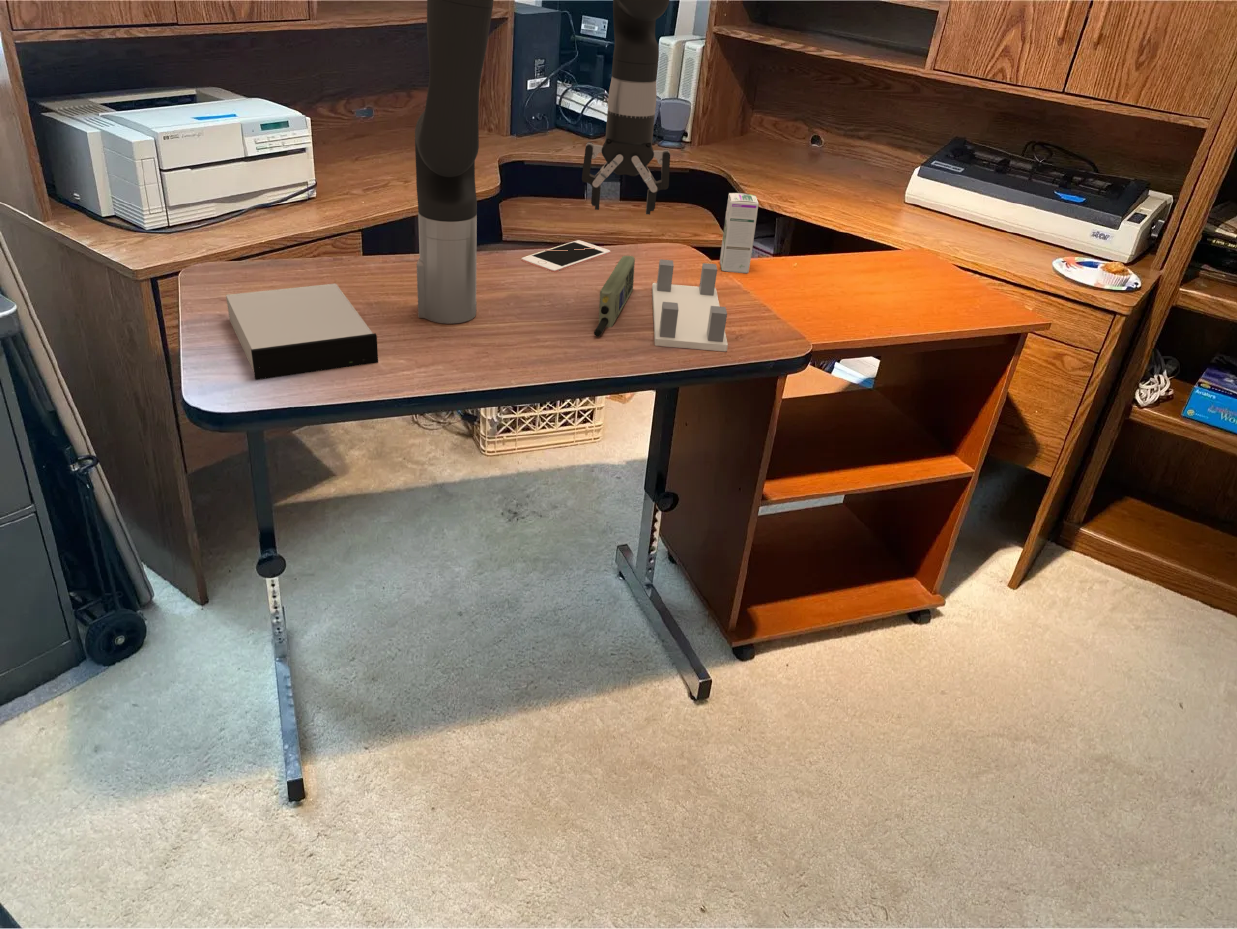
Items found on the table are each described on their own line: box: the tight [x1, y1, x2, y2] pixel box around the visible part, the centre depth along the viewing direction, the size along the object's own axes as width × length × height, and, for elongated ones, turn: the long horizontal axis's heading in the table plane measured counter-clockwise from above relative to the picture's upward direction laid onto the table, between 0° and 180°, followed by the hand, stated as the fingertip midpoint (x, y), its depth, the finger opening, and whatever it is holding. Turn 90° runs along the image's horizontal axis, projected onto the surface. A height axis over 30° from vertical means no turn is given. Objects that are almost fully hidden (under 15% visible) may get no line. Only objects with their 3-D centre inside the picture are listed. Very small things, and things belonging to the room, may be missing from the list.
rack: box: [651, 258, 729, 352], centre depth 162 cm, size 12×26×6 cm, turn 179°
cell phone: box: [521, 239, 611, 273], centre depth 186 cm, size 9×18×1 cm, turn 143°
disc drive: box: [225, 283, 379, 381], centre depth 142 cm, size 18×22×5 cm
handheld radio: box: [593, 255, 636, 338], centre depth 162 cm, size 7×3×25 cm
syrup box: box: [719, 192, 760, 274], centre depth 185 cm, size 6×6×14 cm
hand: (622, 210), depth 154 cm, fingers open, 8 cm apart
